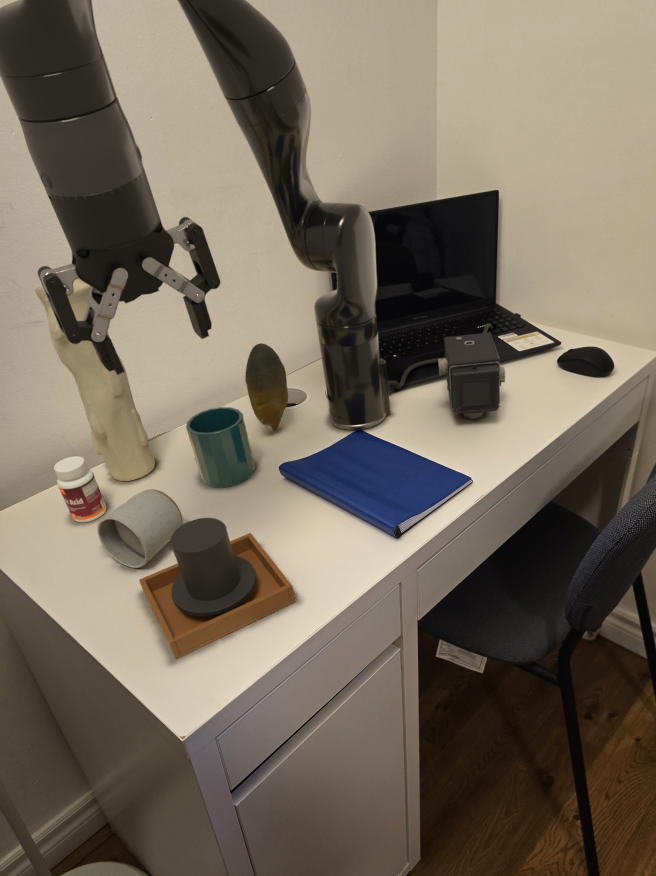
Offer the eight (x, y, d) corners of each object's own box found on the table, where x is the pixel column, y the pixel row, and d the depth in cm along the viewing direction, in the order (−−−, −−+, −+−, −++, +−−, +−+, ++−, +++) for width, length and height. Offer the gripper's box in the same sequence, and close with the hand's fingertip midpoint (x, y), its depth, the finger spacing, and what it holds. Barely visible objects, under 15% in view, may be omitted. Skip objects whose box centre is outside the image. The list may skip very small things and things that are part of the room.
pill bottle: (65, 520, 93) (42, 471, 88) (88, 501, 96) (67, 452, 91) (92, 525, 91) (70, 475, 86) (114, 505, 95) (94, 456, 90)
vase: (119, 492, 97) (40, 291, 80) (93, 473, 103) (15, 281, 85) (169, 466, 102) (105, 271, 85) (142, 450, 107) (77, 263, 90)
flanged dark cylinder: (241, 557, 81) (224, 497, 76) (272, 601, 74) (256, 538, 69) (165, 590, 78) (142, 529, 72) (191, 639, 71) (168, 576, 65)
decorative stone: (269, 416, 113) (251, 333, 104) (302, 418, 111) (287, 333, 103) (247, 445, 105) (226, 358, 97) (282, 447, 104) (264, 358, 95)
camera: (436, 398, 115) (444, 432, 102) (432, 334, 109) (440, 361, 96) (497, 392, 114) (513, 426, 101) (496, 327, 109) (513, 354, 96)
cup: (243, 453, 103) (230, 401, 98) (263, 474, 98) (250, 421, 92) (194, 471, 100) (179, 419, 95) (212, 494, 95) (196, 440, 89)
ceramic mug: (193, 534, 87) (177, 486, 83) (154, 573, 81) (134, 524, 77) (131, 522, 91) (112, 475, 87) (89, 559, 85) (67, 511, 81)
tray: (254, 547, 83) (250, 532, 82) (296, 601, 75) (292, 585, 73) (145, 595, 78) (138, 579, 77) (175, 659, 69) (169, 643, 68)
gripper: (160, 135, 55) (211, 309, 67) (-13, 186, 50) (75, 364, 62) (197, 157, 50) (245, 339, 62) (11, 216, 45) (101, 402, 57)
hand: (160, 352), depth 62 cm, fingers open, 8 cm apart
